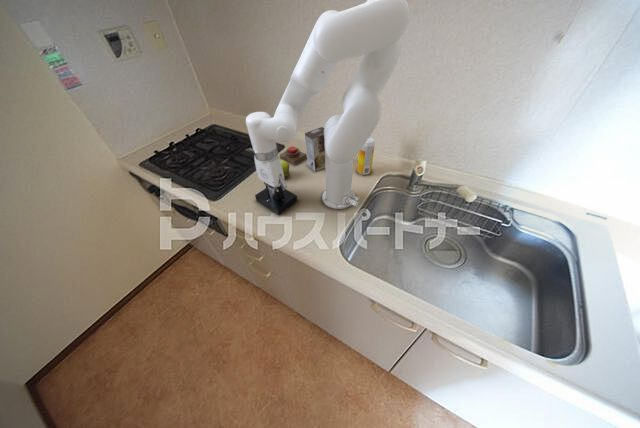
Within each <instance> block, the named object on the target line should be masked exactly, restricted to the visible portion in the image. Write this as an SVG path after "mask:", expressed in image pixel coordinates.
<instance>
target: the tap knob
mask: <svg viewBox="0 0 640 428" xmlns="http://www.w3.org/2000/svg"><path fill="white" fill-rule="evenodd" d="M267 187H268V190H269V194H270V197H271V198H272V199H277V198H276V194H275V191H276V190H275V187H272V186H270V185H269V184H268V185H267ZM277 187H280V185H279V184H278V186H277Z"/></svg>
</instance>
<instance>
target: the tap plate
mask: <svg viewBox="0 0 640 428" xmlns="http://www.w3.org/2000/svg"><path fill="white" fill-rule="evenodd" d="M283 193H284V196H283V197H282V198H280V199H279V200H277V199H272V198H271V197H270V194H268V193H267V190H266V187H265V188H264V189H262V190H260V191H259V192H258V193H256V194H254V197H255V201H256V202H257V203H259V204H260V205H261V206H264V207H265V208H266V209H268V210H269V211H270V212H273V213H274V214H275V215H277V216H281V214H283V213H284V212H285V211H287V210H289V209H290V208H291V207H292V206H293V205H295V204H296V203H297V202H298V195H297V194H296V193H293V191H290V190H288V189H286V188H284V189H283Z"/></svg>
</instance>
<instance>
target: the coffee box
mask: <svg viewBox="0 0 640 428" xmlns="http://www.w3.org/2000/svg"><path fill="white" fill-rule="evenodd" d="M324 128H325V127H323V126H320V127H317V128H315V129H312V130H309V131H307V132H305V133H304V137H305V148H306V149H305V150H306V157H307V158H306V159H307V166H308V167H309V168H310V169H311V170H313V172H314V173H315V172H318V171H320V170H322V169H325V144H324Z"/></svg>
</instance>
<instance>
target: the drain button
mask: <svg viewBox="0 0 640 428" xmlns="http://www.w3.org/2000/svg"><path fill="white" fill-rule="evenodd" d="M296 148H297V147H296V146H289V147H288V148H287V149H288V150H289V153H296Z"/></svg>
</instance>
